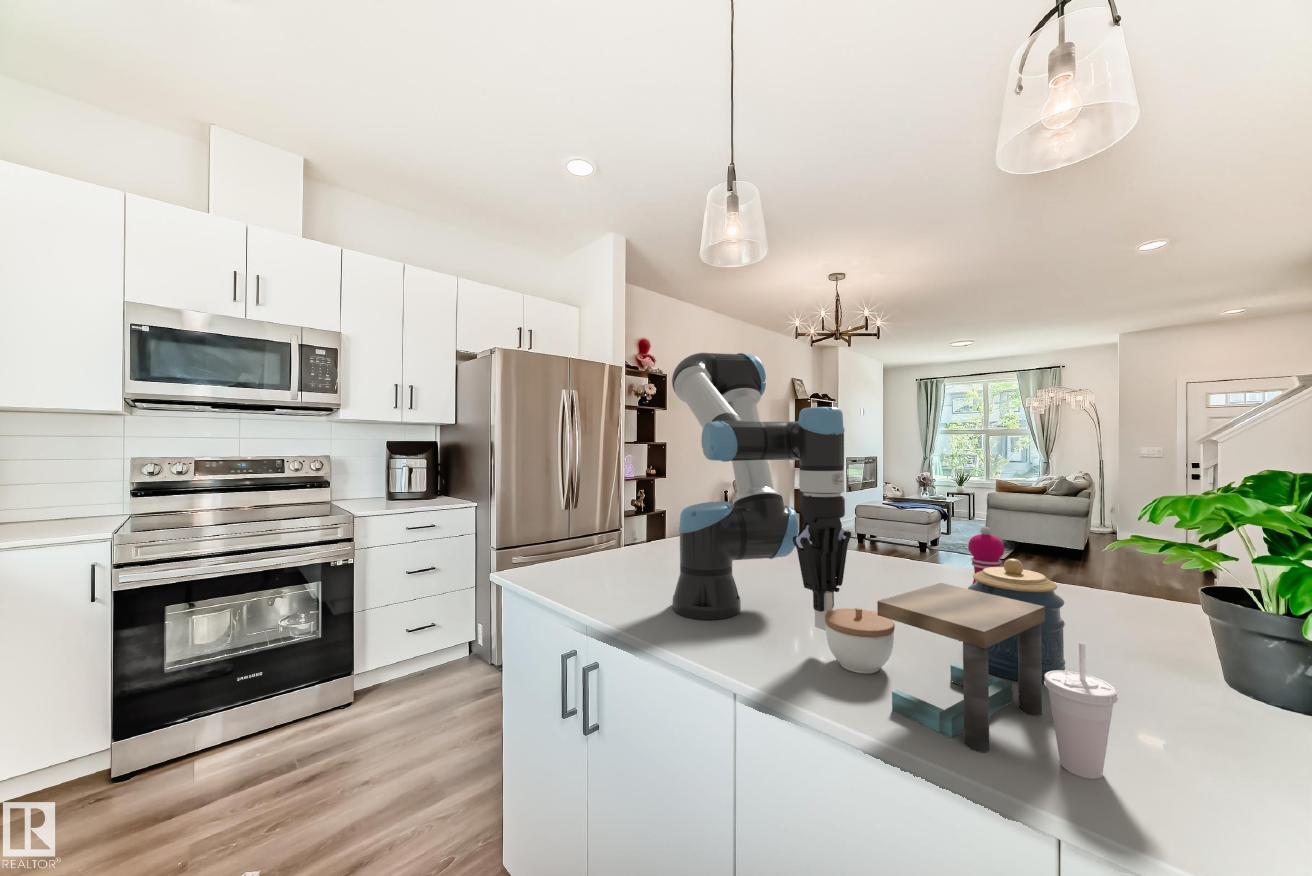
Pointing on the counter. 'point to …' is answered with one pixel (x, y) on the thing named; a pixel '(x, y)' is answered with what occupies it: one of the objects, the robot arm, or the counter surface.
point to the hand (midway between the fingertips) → (823, 628)
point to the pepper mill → (985, 550)
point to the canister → (1031, 590)
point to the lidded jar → (859, 639)
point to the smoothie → (1081, 718)
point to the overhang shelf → (972, 655)
